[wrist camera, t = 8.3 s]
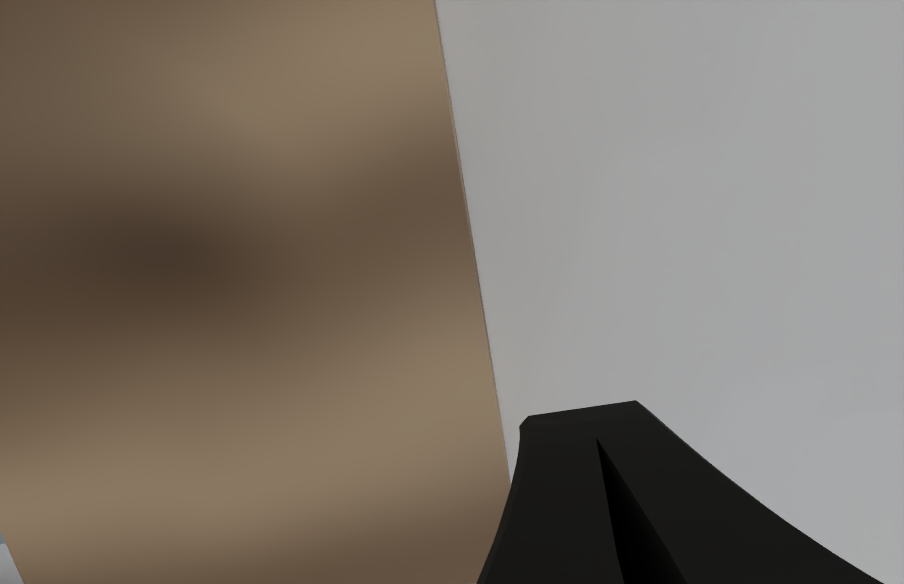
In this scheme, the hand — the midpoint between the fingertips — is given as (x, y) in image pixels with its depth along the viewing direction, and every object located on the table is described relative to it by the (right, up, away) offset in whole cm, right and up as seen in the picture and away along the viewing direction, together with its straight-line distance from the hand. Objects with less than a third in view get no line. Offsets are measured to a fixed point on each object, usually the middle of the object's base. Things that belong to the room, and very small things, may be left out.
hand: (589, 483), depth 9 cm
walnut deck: (-6, +4, +9) cm, 11 cm away
